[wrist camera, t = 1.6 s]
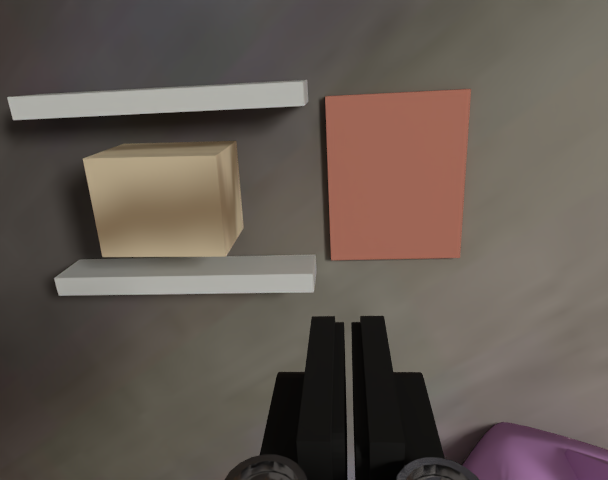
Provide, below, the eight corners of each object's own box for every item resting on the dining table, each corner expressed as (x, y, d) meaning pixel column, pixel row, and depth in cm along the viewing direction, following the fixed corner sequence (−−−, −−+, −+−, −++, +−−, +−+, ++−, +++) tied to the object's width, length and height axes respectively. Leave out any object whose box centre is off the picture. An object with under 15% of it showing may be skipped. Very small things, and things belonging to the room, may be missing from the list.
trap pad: (325, 96, 27) (325, 96, 27) (469, 88, 26) (470, 89, 26) (331, 257, 30) (331, 260, 30) (458, 255, 30) (459, 257, 29)
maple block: (124, 143, 29) (82, 158, 24) (236, 140, 28) (215, 155, 24) (138, 228, 31) (102, 257, 26) (243, 227, 30) (225, 256, 26)
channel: (40, 94, 28) (7, 97, 25) (307, 79, 27) (303, 81, 24) (83, 275, 32) (58, 295, 29) (316, 271, 31) (313, 292, 28)
